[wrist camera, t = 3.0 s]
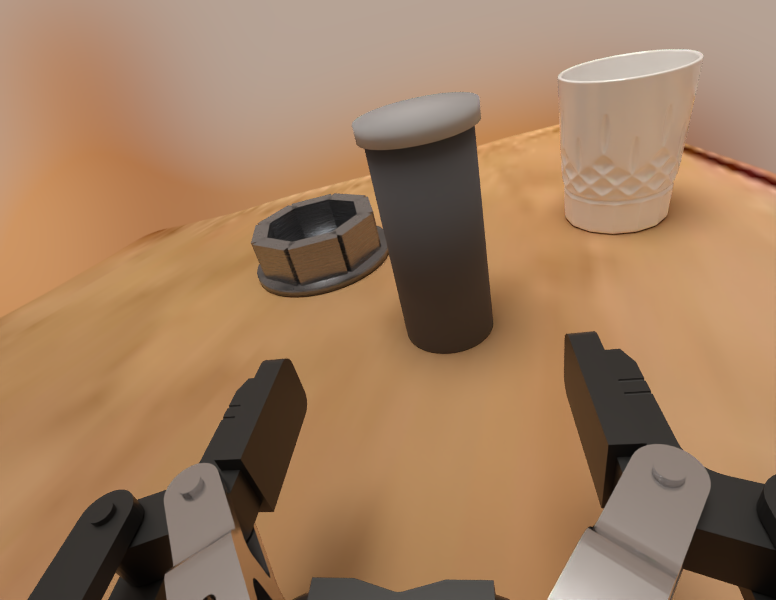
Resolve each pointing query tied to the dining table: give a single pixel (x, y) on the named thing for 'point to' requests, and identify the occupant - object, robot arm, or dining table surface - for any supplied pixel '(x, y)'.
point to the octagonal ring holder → (318, 245)
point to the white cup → (624, 136)
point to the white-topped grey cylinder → (432, 215)
